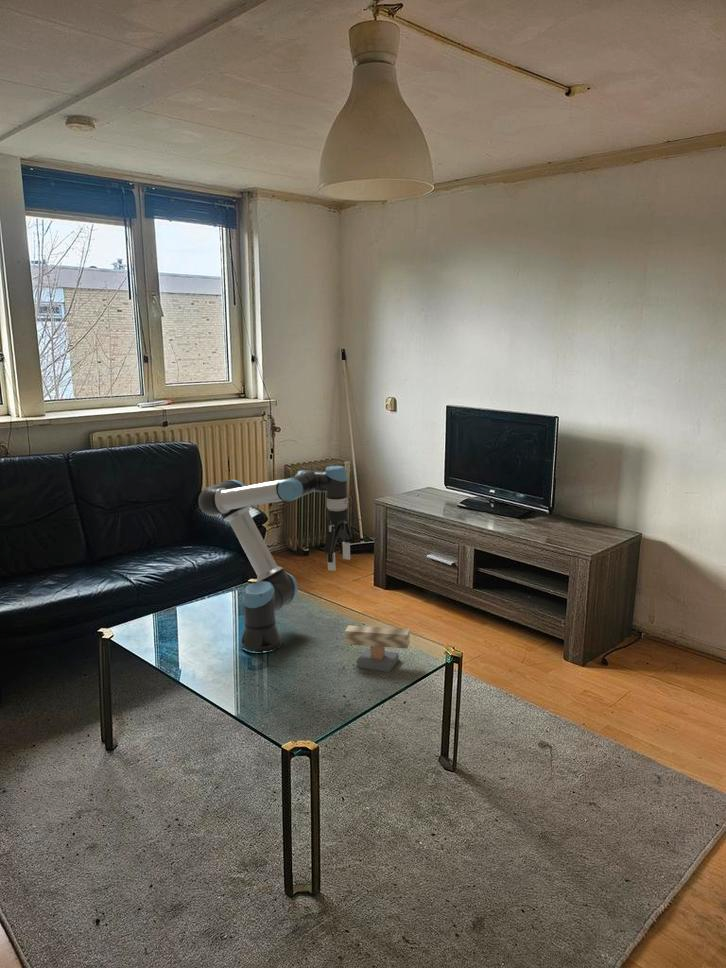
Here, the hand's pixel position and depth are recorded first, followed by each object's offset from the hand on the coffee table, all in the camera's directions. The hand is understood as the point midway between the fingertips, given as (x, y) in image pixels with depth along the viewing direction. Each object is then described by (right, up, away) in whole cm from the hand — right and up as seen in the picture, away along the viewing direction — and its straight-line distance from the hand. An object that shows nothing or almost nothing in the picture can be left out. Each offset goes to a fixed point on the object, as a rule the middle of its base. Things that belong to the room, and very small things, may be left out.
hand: (339, 564), depth 253 cm
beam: (+14, -26, -13) cm, 32 cm away
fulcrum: (+14, -33, -12) cm, 38 cm away
